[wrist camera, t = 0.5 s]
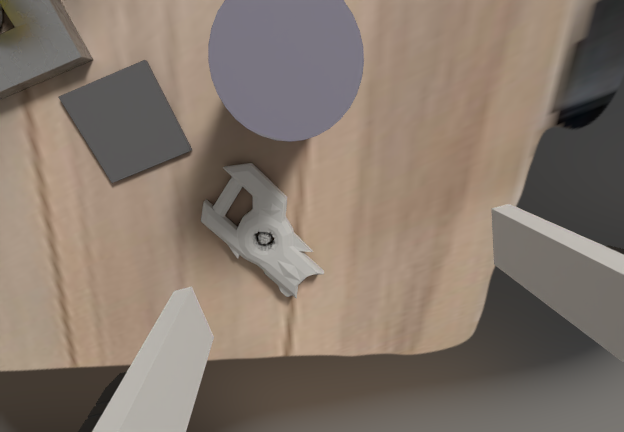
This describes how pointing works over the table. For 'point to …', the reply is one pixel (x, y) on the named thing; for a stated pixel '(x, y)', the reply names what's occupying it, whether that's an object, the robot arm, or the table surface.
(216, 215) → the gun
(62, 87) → the table surface
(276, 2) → the container
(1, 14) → the pill bottle
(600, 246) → the robot arm
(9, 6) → the housing plate
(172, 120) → the rubber mat
